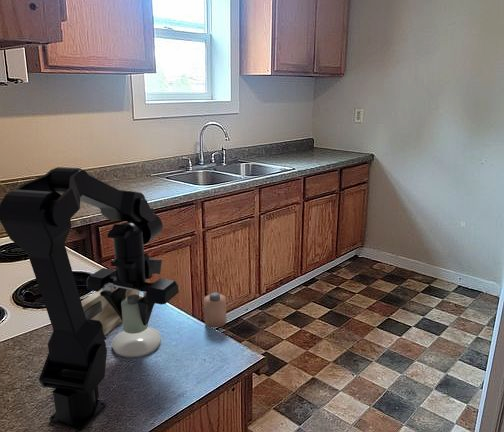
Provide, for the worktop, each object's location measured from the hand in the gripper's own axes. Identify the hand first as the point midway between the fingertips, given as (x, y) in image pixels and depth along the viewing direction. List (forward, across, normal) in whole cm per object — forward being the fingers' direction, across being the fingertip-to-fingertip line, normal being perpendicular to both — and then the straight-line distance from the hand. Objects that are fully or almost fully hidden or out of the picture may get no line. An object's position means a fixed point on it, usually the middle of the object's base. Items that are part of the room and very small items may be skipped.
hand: (135, 322), depth 91 cm
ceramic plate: (+5, 0, 0) cm, 5 cm away
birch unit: (+5, +11, -6) cm, 14 cm away
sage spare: (+1, 0, 0) cm, 1 cm away
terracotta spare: (+5, -12, -14) cm, 19 cm away
